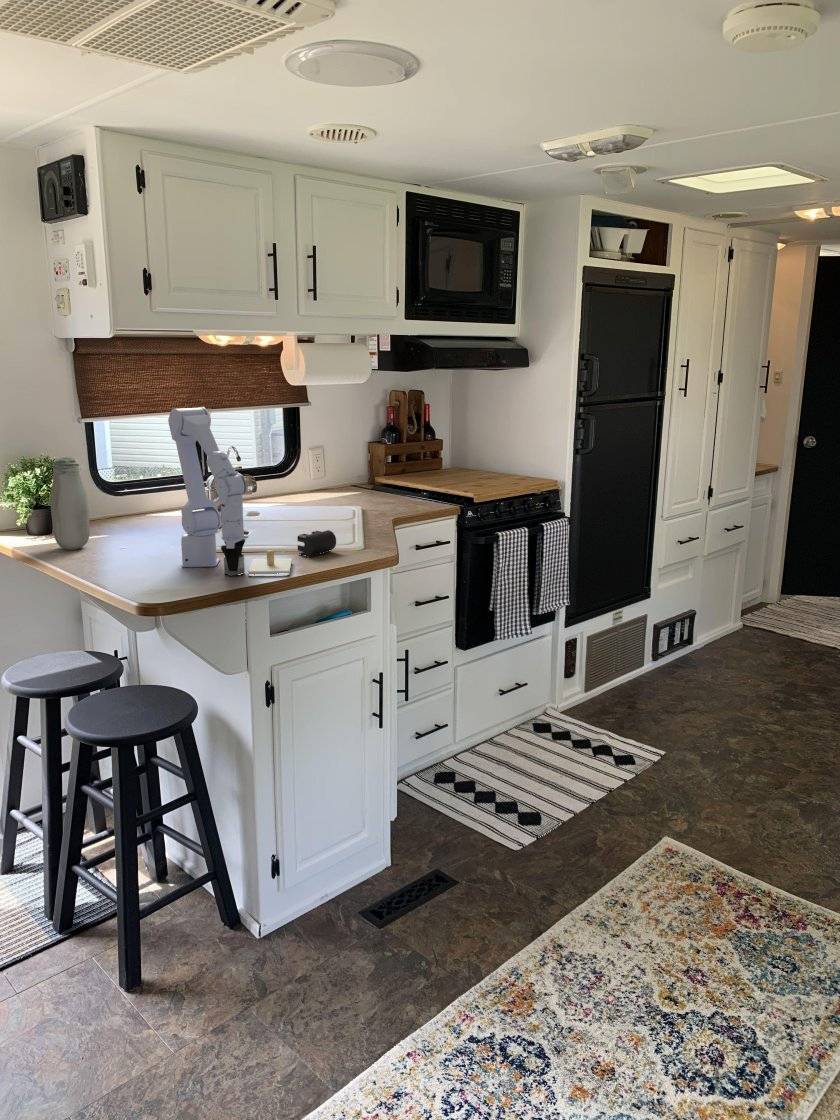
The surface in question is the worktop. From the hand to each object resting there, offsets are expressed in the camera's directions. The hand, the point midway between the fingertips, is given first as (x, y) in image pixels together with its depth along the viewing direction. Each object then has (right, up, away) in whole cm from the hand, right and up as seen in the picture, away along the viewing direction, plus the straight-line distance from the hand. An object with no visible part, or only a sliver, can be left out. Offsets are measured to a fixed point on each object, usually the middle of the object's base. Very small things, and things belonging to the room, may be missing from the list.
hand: (234, 568), depth 232 cm
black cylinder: (+20, +4, +24) cm, 31 cm away
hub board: (+9, -1, +5) cm, 10 cm away
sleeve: (0, -1, 0) cm, 1 cm away
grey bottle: (-55, +5, +27) cm, 62 cm away
